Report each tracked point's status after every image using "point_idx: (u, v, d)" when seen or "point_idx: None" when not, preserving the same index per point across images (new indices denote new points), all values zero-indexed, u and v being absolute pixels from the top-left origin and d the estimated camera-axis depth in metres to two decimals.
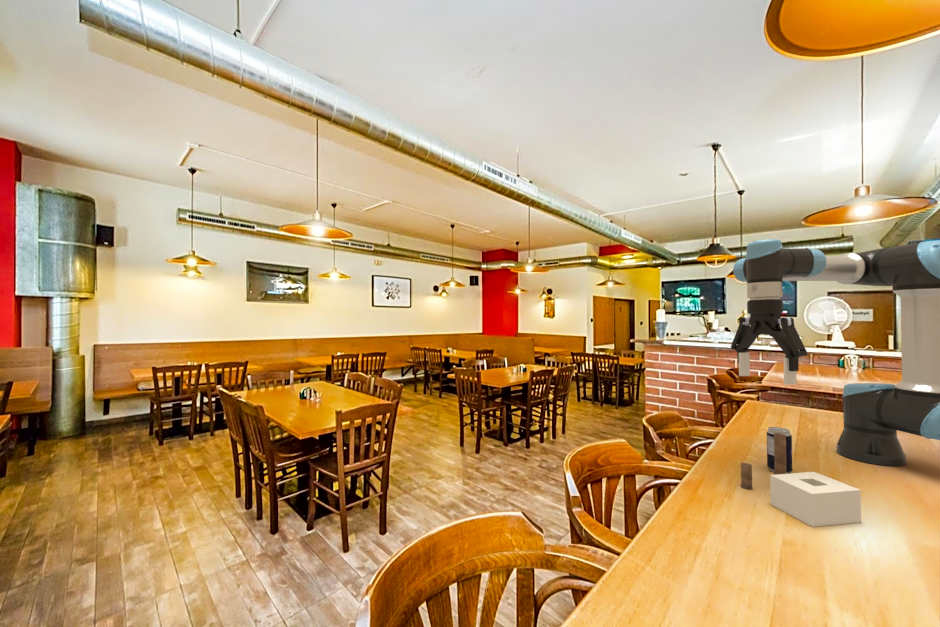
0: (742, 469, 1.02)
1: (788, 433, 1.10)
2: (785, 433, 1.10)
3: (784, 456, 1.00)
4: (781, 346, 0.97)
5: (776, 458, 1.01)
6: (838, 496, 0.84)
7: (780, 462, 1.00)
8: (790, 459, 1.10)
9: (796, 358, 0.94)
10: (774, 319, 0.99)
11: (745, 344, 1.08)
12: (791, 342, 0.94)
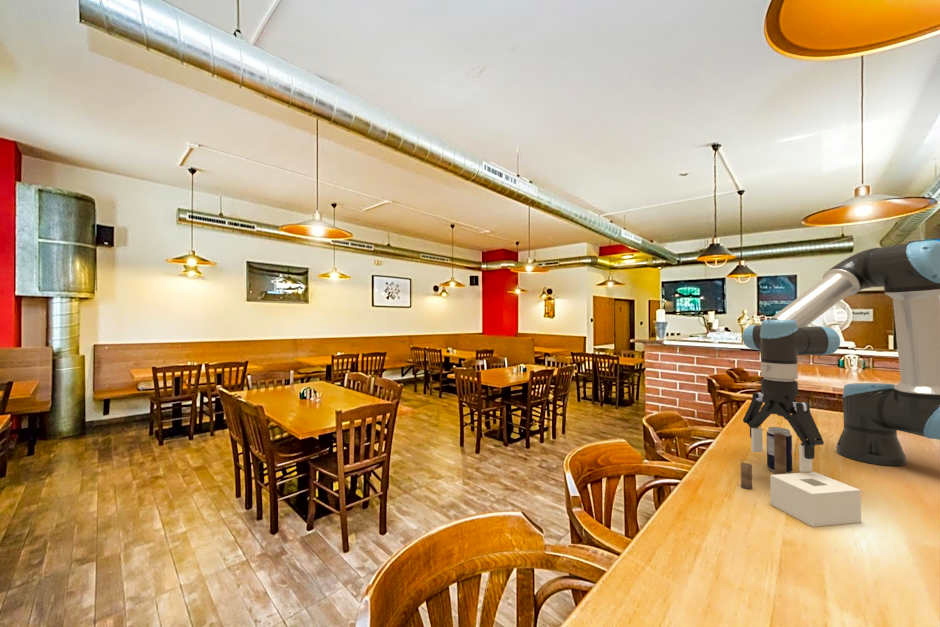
0: (742, 469, 1.02)
1: (788, 433, 1.10)
2: (785, 433, 1.10)
3: (784, 456, 1.00)
4: (796, 432, 0.95)
5: (776, 458, 1.01)
6: (838, 496, 0.84)
7: (780, 462, 1.00)
8: (790, 459, 1.10)
9: (812, 446, 0.93)
10: (789, 402, 0.97)
11: (758, 420, 1.07)
12: (807, 430, 0.93)
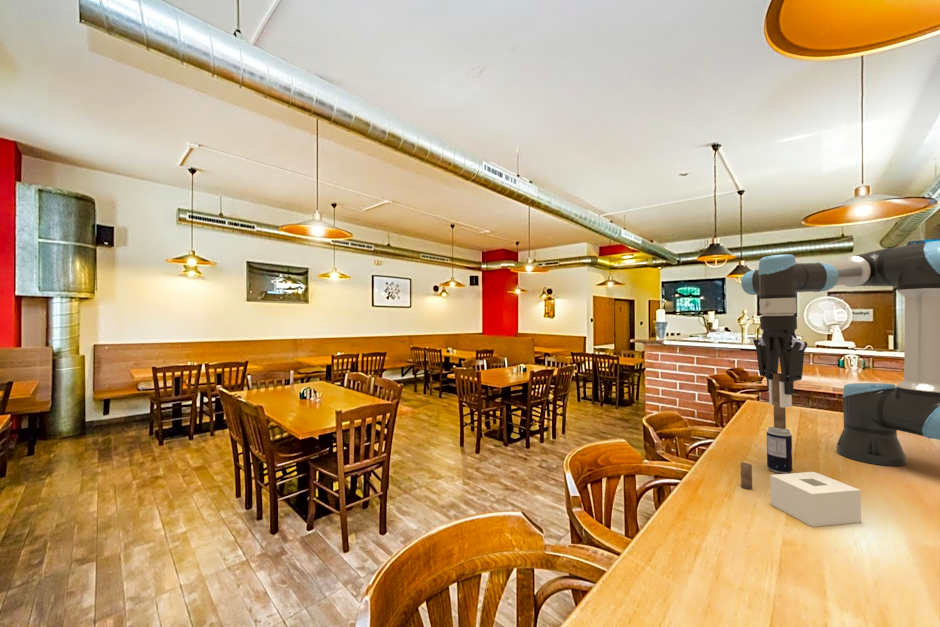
0: (742, 469, 1.02)
1: (788, 433, 1.10)
2: (785, 433, 1.10)
3: None
4: (781, 368, 0.99)
5: (775, 397, 1.01)
6: (838, 496, 0.84)
7: (779, 400, 1.00)
8: (790, 459, 1.10)
9: (791, 382, 0.98)
10: (789, 338, 0.97)
11: (771, 366, 1.03)
12: (792, 367, 0.96)
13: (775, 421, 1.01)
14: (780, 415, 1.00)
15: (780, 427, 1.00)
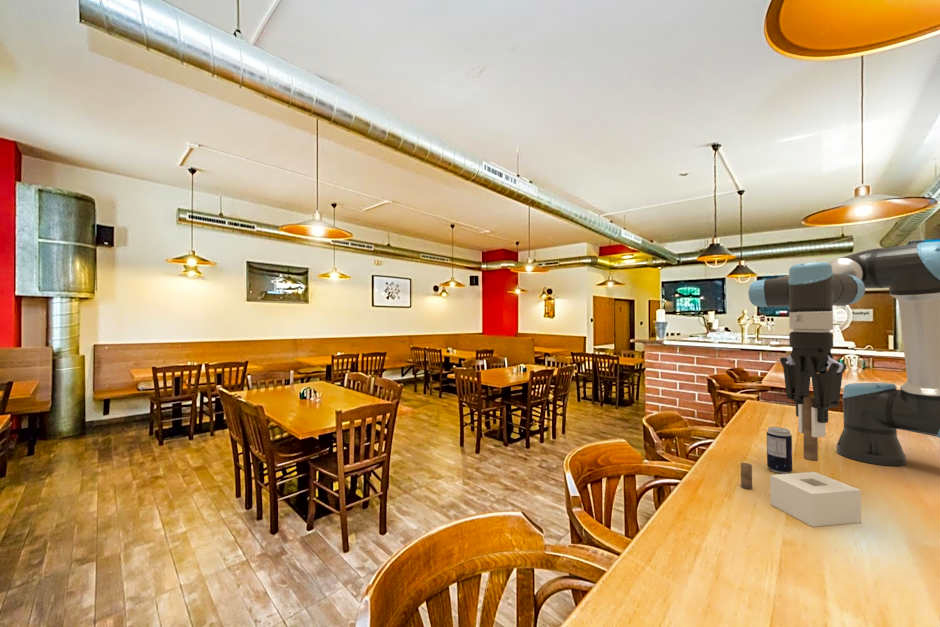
0: (742, 469, 1.02)
1: (788, 433, 1.10)
2: (785, 433, 1.10)
3: None
4: (814, 392, 0.87)
5: (806, 424, 0.88)
6: (838, 496, 0.84)
7: (810, 429, 0.88)
8: (790, 459, 1.10)
9: (826, 409, 0.86)
10: (824, 358, 0.85)
11: (801, 389, 0.90)
12: (828, 392, 0.84)
13: (805, 452, 0.89)
14: (812, 446, 0.88)
15: (811, 459, 0.88)
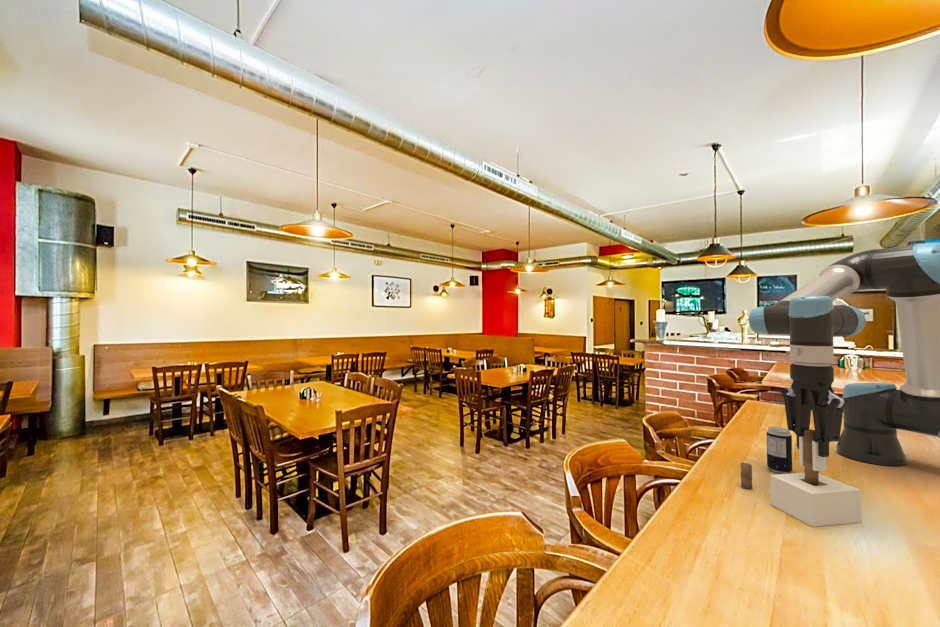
0: (742, 469, 1.02)
1: (788, 433, 1.10)
2: (785, 433, 1.10)
3: None
4: (815, 426, 0.87)
5: (807, 458, 0.88)
6: (838, 496, 0.84)
7: (811, 462, 0.88)
8: (790, 459, 1.10)
9: (826, 443, 0.86)
10: (825, 392, 0.85)
11: (802, 422, 0.90)
12: (829, 426, 0.84)
13: None
14: (812, 479, 0.88)
15: None
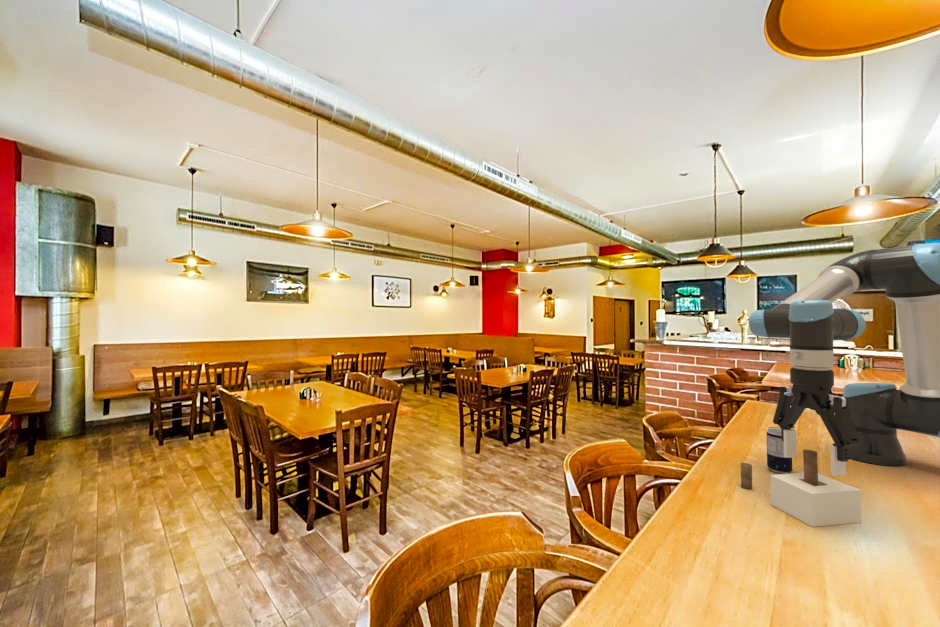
0: (742, 469, 1.02)
1: None
2: None
3: (816, 476, 0.87)
4: (829, 430, 0.84)
5: (807, 479, 0.88)
6: (838, 496, 0.84)
7: (811, 483, 0.88)
8: (790, 459, 1.10)
9: (846, 447, 0.82)
10: (825, 395, 0.85)
11: (790, 419, 0.93)
12: (843, 428, 0.81)
13: None
14: None
15: None
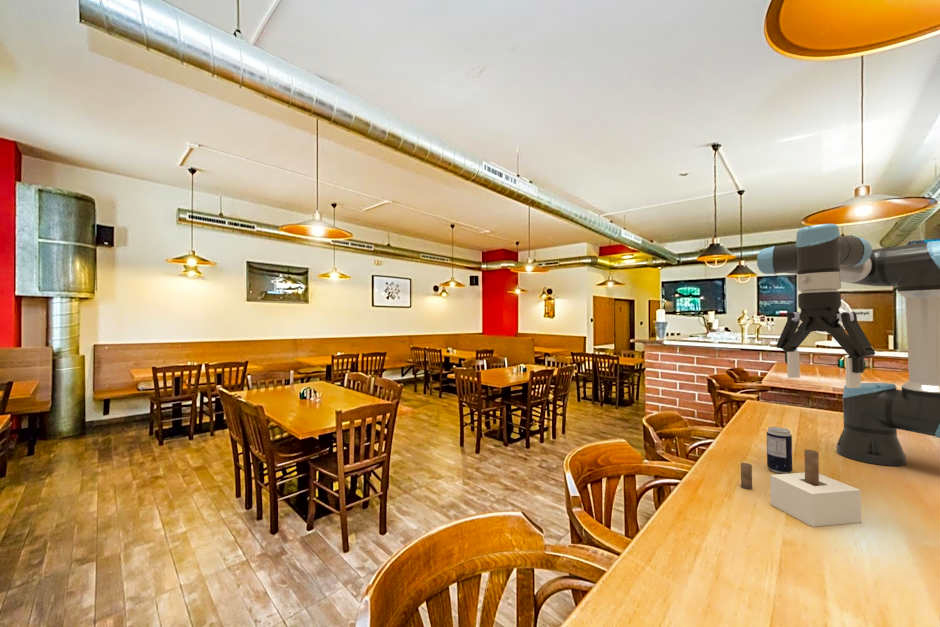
0: (742, 469, 1.02)
1: (788, 433, 1.10)
2: (785, 433, 1.10)
3: (817, 476, 0.87)
4: (842, 345, 0.86)
5: (808, 479, 0.88)
6: (838, 496, 0.84)
7: (812, 483, 0.88)
8: (790, 459, 1.10)
9: (861, 358, 0.83)
10: (832, 314, 0.88)
11: (795, 342, 0.97)
12: (855, 340, 0.83)
13: None
14: None
15: None
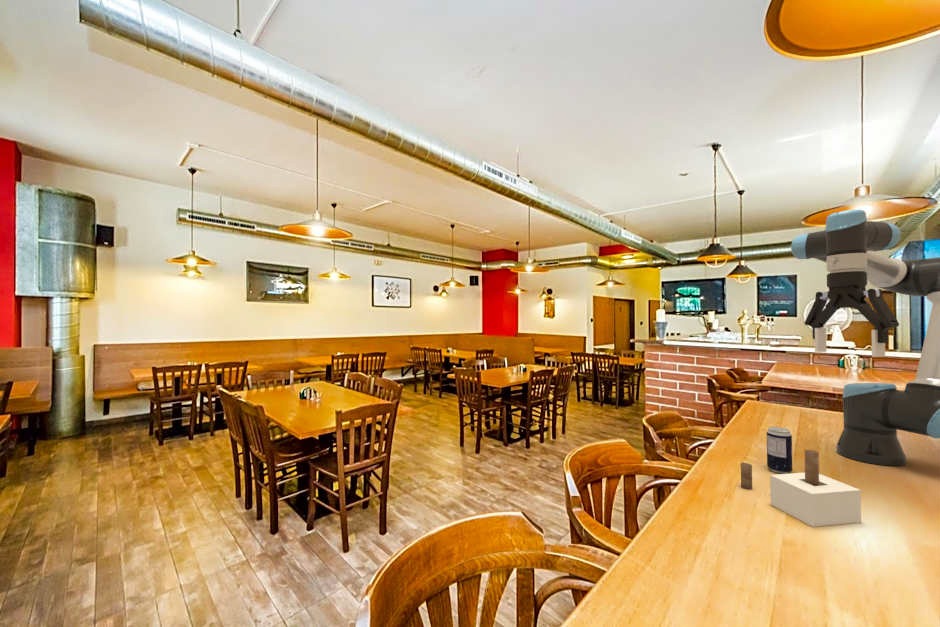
0: (742, 469, 1.02)
1: (788, 433, 1.10)
2: (785, 433, 1.10)
3: (817, 476, 0.87)
4: (868, 318, 0.95)
5: (808, 479, 0.88)
6: (838, 496, 0.84)
7: (812, 483, 0.88)
8: (790, 459, 1.10)
9: (886, 329, 0.92)
10: (859, 291, 0.97)
11: (822, 319, 1.06)
12: (881, 313, 0.92)
13: None
14: None
15: None
